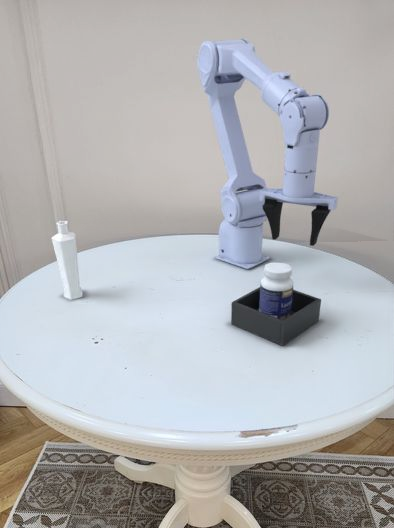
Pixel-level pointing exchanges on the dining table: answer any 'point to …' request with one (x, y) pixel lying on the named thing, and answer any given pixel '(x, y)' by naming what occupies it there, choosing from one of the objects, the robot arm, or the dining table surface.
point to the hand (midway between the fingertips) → (294, 240)
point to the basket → (271, 327)
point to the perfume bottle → (67, 260)
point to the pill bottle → (276, 290)
